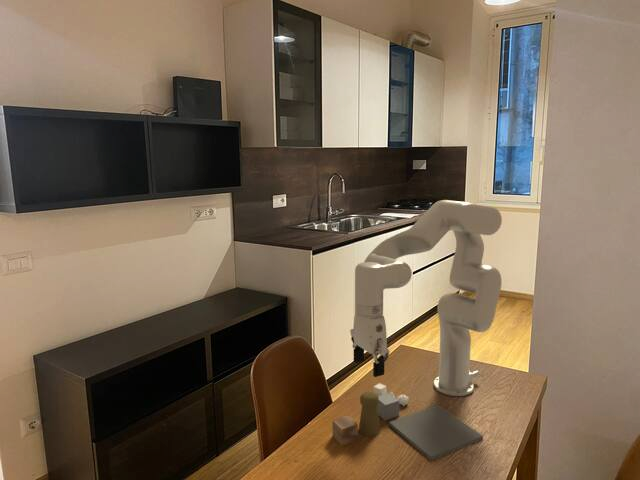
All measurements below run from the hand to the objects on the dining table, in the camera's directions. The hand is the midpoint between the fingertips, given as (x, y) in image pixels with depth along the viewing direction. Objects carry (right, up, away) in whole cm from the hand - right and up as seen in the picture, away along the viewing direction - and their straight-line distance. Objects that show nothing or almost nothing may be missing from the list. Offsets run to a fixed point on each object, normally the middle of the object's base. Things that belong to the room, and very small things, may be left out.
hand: (368, 368), depth 132 cm
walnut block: (-6, -19, 0) cm, 20 cm away
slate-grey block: (+7, -17, +12) cm, 22 cm away
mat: (+19, -18, +2) cm, 26 cm away
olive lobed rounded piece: (+1, -19, +4) cm, 19 cm away
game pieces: (+9, -15, +20) cm, 27 cm away
